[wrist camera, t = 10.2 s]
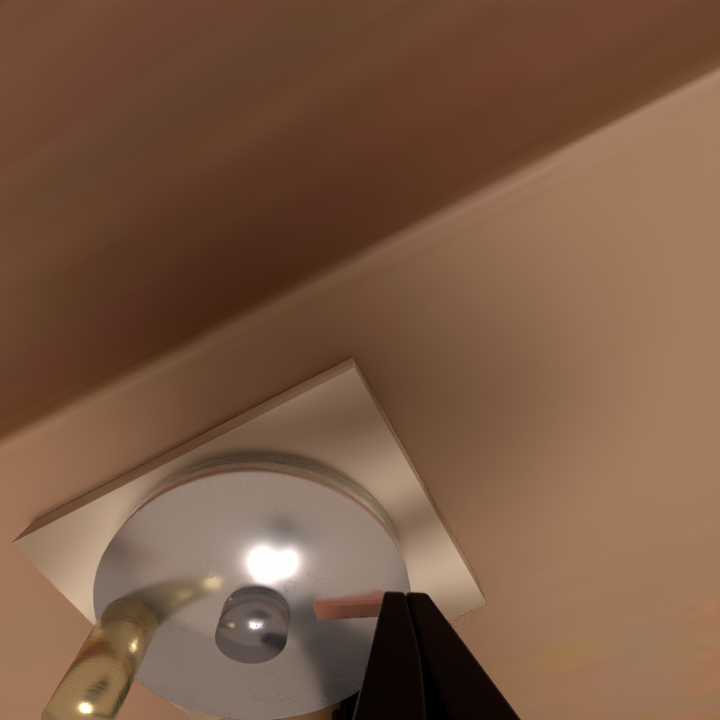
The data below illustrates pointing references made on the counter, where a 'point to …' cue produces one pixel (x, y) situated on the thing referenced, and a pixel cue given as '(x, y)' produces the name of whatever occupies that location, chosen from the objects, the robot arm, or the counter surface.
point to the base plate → (284, 438)
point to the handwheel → (238, 594)
